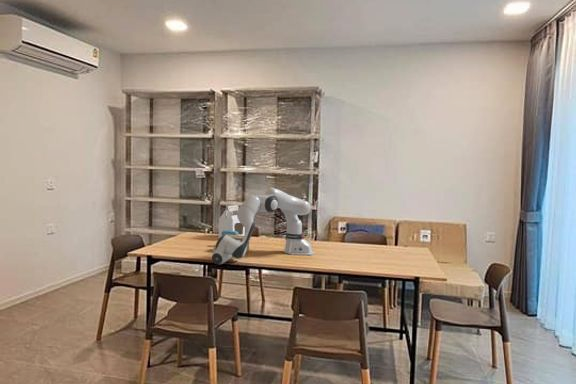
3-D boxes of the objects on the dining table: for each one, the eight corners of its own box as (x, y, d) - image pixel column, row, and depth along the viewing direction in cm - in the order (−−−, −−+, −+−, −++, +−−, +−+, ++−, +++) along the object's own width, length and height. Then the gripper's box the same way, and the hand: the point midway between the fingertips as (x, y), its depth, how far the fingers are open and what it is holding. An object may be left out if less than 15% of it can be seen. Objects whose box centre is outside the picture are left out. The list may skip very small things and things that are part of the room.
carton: (248, 250, 316) (249, 235, 316) (244, 253, 307) (245, 237, 306) (225, 249, 320) (225, 234, 319) (220, 251, 310) (221, 236, 309)
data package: (238, 246, 330) (238, 231, 329) (235, 248, 326) (236, 232, 325) (223, 245, 333) (224, 230, 333) (221, 246, 329) (221, 230, 328)
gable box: (232, 241, 353) (233, 207, 351) (218, 239, 358) (219, 206, 356) (244, 237, 374) (245, 205, 372) (231, 235, 379) (232, 204, 377)
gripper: (241, 250, 276) (247, 246, 289) (210, 247, 279) (218, 244, 293) (240, 259, 276) (247, 255, 290) (210, 257, 280) (218, 253, 293)
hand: (232, 249), depth 291 cm, fingers open, 8 cm apart
